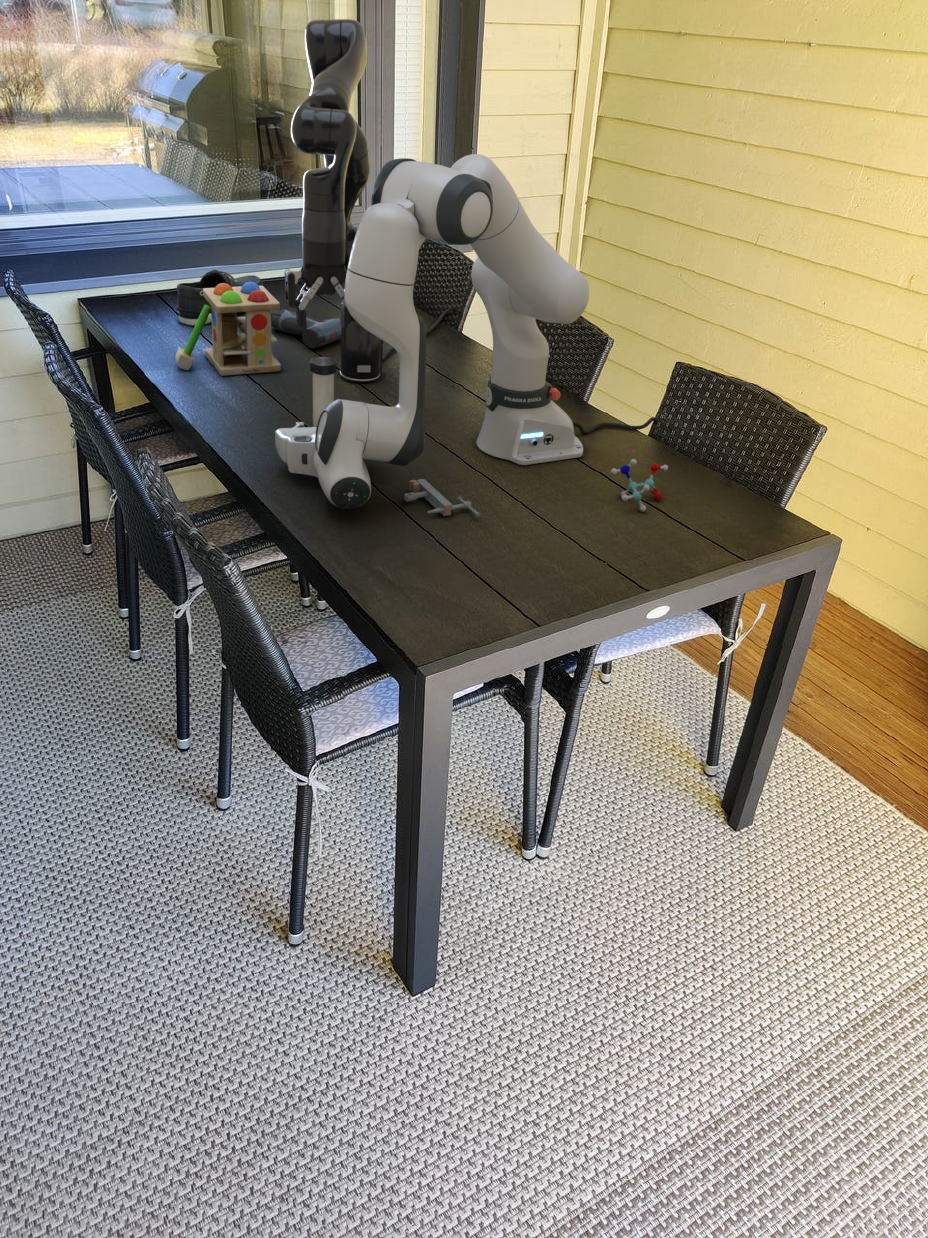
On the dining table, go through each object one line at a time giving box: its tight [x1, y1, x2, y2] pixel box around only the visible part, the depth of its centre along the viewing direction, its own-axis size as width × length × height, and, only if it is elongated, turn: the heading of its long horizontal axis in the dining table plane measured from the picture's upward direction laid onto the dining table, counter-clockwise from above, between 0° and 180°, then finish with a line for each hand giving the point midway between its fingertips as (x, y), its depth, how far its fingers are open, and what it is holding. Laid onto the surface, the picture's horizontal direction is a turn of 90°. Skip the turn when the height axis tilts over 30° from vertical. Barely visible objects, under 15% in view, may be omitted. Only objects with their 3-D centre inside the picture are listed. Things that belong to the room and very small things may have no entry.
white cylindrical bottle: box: [311, 372, 335, 427], centre depth 190 cm, size 4×4×19 cm
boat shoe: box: [175, 269, 265, 326], centre depth 261 cm, size 13×33×10 cm, turn 147°
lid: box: [309, 356, 338, 375], centre depth 185 cm, size 5×5×2 cm
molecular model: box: [610, 458, 669, 513], centre depth 187 cm, size 12×10×10 cm
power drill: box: [271, 308, 341, 349], centre depth 252 cm, size 5×19×20 cm
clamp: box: [403, 478, 481, 518], centre depth 180 cm, size 15×2×10 cm
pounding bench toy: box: [174, 282, 282, 377], centre depth 225 cm, size 23×14×18 cm, turn 116°
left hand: (323, 327), depth 181 cm, fingers open, 7 cm apart
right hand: (323, 424), depth 192 cm, fingers open, 8 cm apart
